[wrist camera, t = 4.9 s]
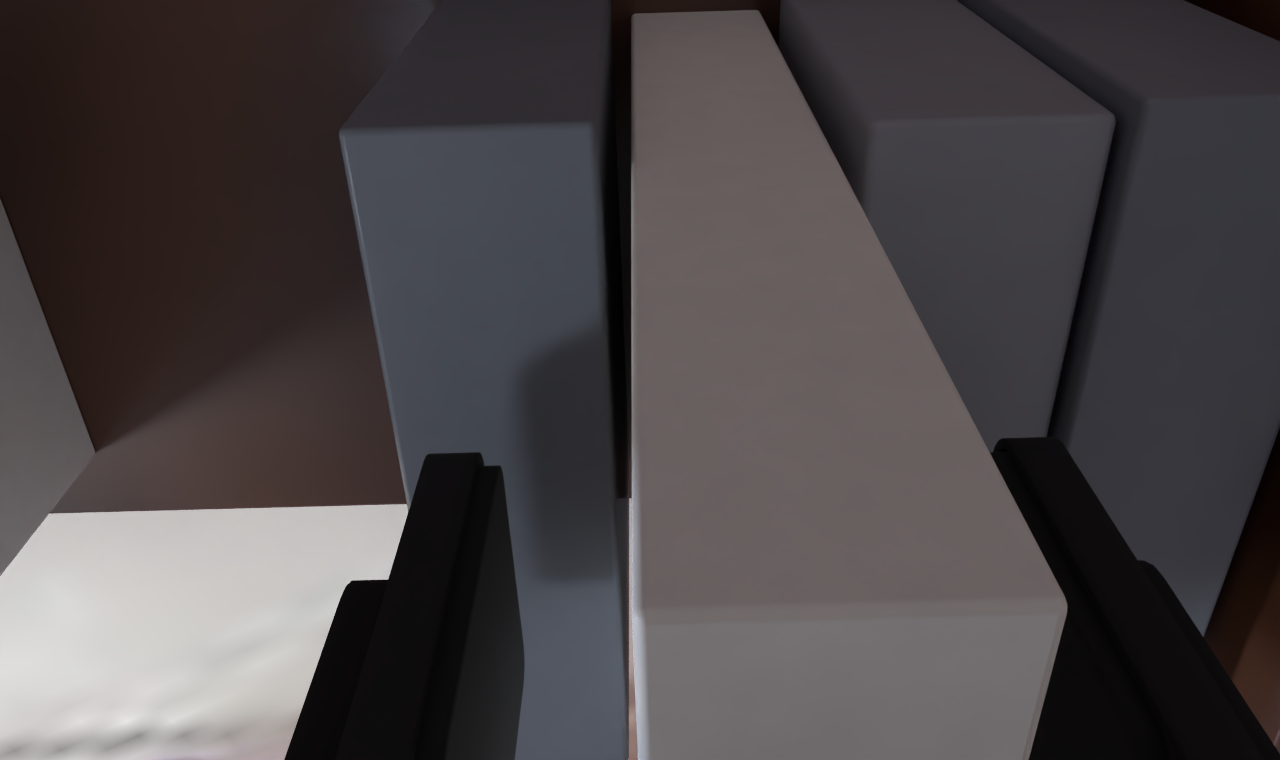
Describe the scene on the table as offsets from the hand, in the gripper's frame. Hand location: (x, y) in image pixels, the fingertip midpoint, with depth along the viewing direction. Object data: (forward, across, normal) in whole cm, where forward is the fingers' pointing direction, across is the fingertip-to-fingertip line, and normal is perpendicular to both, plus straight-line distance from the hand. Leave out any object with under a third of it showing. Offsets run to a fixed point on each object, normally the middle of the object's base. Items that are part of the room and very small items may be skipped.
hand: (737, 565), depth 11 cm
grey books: (+8, -2, 0) cm, 8 cm away
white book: (+8, 0, 0) cm, 8 cm away
